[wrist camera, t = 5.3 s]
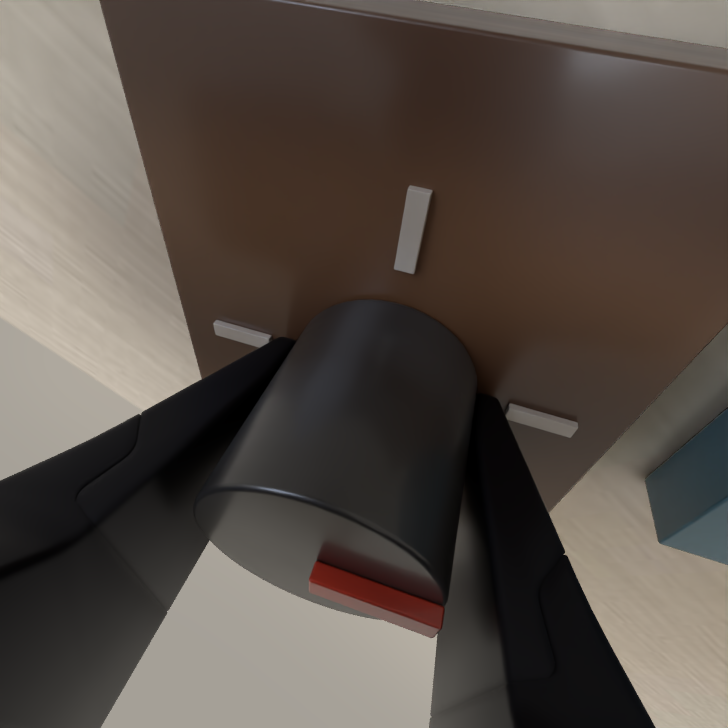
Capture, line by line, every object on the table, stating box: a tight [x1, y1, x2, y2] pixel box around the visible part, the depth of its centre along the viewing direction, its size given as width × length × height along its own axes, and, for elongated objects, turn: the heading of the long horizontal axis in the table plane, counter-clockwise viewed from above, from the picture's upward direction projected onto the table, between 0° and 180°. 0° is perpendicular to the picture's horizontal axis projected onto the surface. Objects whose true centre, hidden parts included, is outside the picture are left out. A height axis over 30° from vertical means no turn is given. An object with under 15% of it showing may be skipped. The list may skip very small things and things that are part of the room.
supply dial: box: [193, 299, 477, 638], centre depth 7 cm, size 4×4×4 cm
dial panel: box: [100, 0, 728, 513], centre depth 10 cm, size 12×10×3 cm
